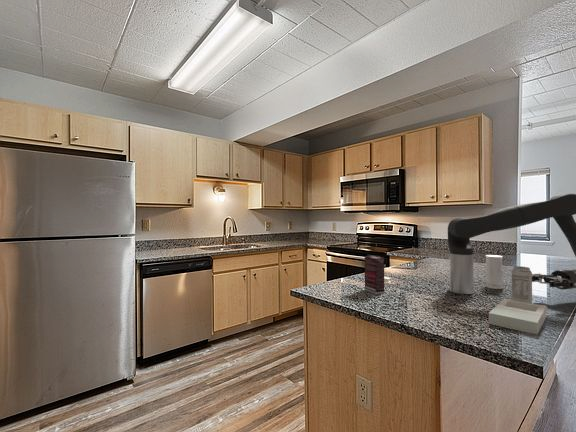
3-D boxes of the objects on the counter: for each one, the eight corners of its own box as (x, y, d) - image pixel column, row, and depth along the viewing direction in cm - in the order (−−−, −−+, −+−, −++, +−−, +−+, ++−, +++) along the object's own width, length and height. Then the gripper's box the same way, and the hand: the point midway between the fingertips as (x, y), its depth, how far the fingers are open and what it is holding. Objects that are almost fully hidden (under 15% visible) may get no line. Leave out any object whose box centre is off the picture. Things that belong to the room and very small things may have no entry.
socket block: (488, 323, 95) (488, 312, 94) (504, 308, 110) (504, 298, 110) (537, 334, 86) (537, 322, 86) (546, 316, 101) (546, 306, 101)
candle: (481, 286, 143) (481, 255, 143) (493, 285, 144) (493, 254, 144) (494, 289, 136) (494, 257, 136) (506, 288, 138) (506, 256, 138)
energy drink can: (534, 307, 110) (534, 267, 110) (527, 310, 107) (527, 269, 107) (515, 303, 115) (515, 265, 115) (508, 306, 112) (508, 267, 112)
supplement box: (385, 293, 131) (384, 257, 131) (376, 294, 129) (376, 258, 129) (372, 288, 139) (372, 255, 139) (364, 289, 137) (363, 256, 137)
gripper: (548, 266, 124) (519, 268, 120) (590, 273, 110) (559, 275, 106) (548, 284, 124) (519, 287, 120) (590, 293, 110) (559, 296, 106)
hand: (538, 281), depth 113 cm, fingers open, 8 cm apart
